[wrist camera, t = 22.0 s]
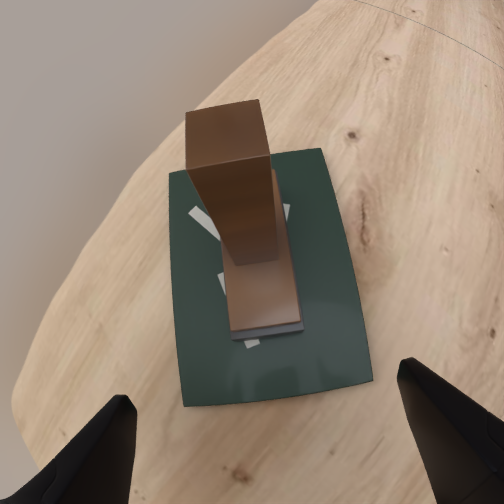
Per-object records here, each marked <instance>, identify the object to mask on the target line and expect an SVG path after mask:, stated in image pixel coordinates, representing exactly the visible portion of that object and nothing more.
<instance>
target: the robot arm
mask: <svg viewBox="0 0 504 504" xmlns="http://www.w3.org/2000/svg"><path fill="white" fill-rule="evenodd" d="M397 383H398V386H399V390H400V394H401V397H402V401H403V405H404V409H405V412H406V416H407V420H408V423H409V426H410V428H411V431H412V433H413V436H414V439H415V441H416V444H417V447H418V449H419V452H420V455H421V458H422V460H423V463H424V466H425V469H426V472H427V475H428V478H429V480H430V483H431V486H432V489H433V493H434V496H435V499H436V502H437V504H504V422H503V421H502V420H500V419H499V418H498V417H496V416H495V415H493V414H492V413H491V412H488V411H487V410H486V409H485V408H483V407H482V406H481V405H479V404H478V403H476V402H475V401H474V400H472V399H471V398H470V397H468V396H467V395H465V394H464V393H463V392H461V391H460V390H458V389H457V388H456V387H454V386H453V385H451V384H450V383H449V382H447V381H446V380H444V379H443V378H442V377H440V376H439V375H437V374H436V373H435V372H433V371H432V370H430V369H429V368H428V367H426V366H425V365H423V364H422V363H421V362H419V361H418V360H416V359H415V358H413V357H410V358H407V359H403V360H401V362H400V365H399V370H398V374H397ZM136 430H137V410H136V408H135V406H134V405H133V403H132V402H131V400H130V399H129V397H128V396H127V395H115V396H113V397H112V398H111V399H110V401H109V402H108V403H107V404H106V405H105V406H104V407H103V408H102V409H101V410H100V411H99V412H98V413H97V414H96V415H95V416H94V417H93V418H92V419H91V420H90V421H89V422H88V423H87V424H86V425H85V426H84V427H83V428H82V429H81V431H80V432H79V433H78V434H77V435H76V436H75V437H74V438H73V439H72V440H71V441H70V442H69V443H68V444H67V445H66V446H65V447H64V448H63V449H62V450H61V451H60V452H59V453H58V454H57V455H56V456H55V458H53V459H52V460H51V461H50V462H49V463H48V465H46V466H45V467H44V468H43V469H42V470H41V471H40V472H39V473H38V474H37V475H36V476H35V477H34V478H32V479H31V480H30V481H29V482H28V483H27V484H25V485H24V486H23V487H22V488H20V489H19V490H18V491H17V492H16V493H15V494H13V495H12V496H10V497H8V498H6V499H2V500H0V504H128V501H129V493H130V486H131V478H132V471H133V464H134V458H135V449H136Z"/></svg>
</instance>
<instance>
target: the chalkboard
mask: <svg viewBox="0 0 504 504" xmlns="http://www.w3.org/2000/svg"><path fill="white" fill-rule="evenodd" d="M270 155H271V167H272V169H274V170H275V171H277V175H278V180H279V185H280V190H281V195H282V200H283V205H284V211H285V216H286V221H287V227H288V232H289V238H290V243H291V249H292V254H293V260H294V266H295V272H296V278H297V284H298V290H299V296H300V302H301V308H302V314H303V321H304V327H305V330H304V331H303V333H298V334H292V335H285V336H279V337H272V338H264V339H257V340H249V341H241V342H236V341H232V340H231V337H230V328H229V320H228V311H227V302H226V292H225V283H224V273H223V263H222V253H221V243H220V235H219V233H218V231H217V229H216V228H215V226H214V224H213V222H212V220H211V218H210V216H209V214H208V212H207V210H206V208H205V206H204V204H203V203H202V201H201V199H200V197H199V195H198V193H197V191H196V189H195V187H194V185H193V183H192V181H191V179H190V177H189V175H188V173H187V171H186V170H181V171H176V172H172V173H169V232H170V260H171V280H172V297H173V311H174V323H175V335H176V346H177V356H178V365H179V374H180V382H181V390H182V398H183V405H184V407H192V406H211V405H226V404H238V403H248V402H257V401H266V400H274V399H281V398H288V397H295V396H301V395H307V394H313V393H318V392H324V391H329V390H334V389H339V388H344V387H349V386H353V385H358V384H362V383H366V382H370V381H373V374H372V367H371V360H370V354H369V348H368V341H367V335H366V330H365V324H364V318H363V313H362V308H361V303H360V298H359V293H358V288H357V283H356V278H355V274H354V269H353V265H352V260H351V256H350V252H349V247H348V243H347V239H346V235H345V231H344V227H343V223H342V219H341V215H340V212H339V208H338V204H337V200H336V197H335V193H334V190H333V186H332V183H331V179H330V176H329V172H328V169H327V166H326V163H325V159H324V156H323V153H322V150H321V148H314V149H306V150H298V151H290V152H283V153H276V154H270Z"/></svg>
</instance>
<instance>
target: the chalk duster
mask: <svg viewBox="0 0 504 504" xmlns="http://www.w3.org/2000/svg"><path fill="white" fill-rule="evenodd" d="M185 148H186V171H187V173H188V175H189V177H190V179H191V181H192V183H193V185H194V187H195V189H196V191H197V193H198V195H199V197H200V199H201V201H202V203H203V204H204V206H205V208H206V210H207V212H208V214H209V216H210V218H211V220H212V222H213V224H214V226H215V228H216V229H217V231H218V233H219V235H220V243H221V253H222V263H223V273H224V283H225V292H226V302H227V311H228V320H229V328H230V337H231V340H232V341H236V342H241V341H249V340H257V339H264V338H272V337H279V336H285V335H292V334H298V333H303V331H304V330H305V327H304V321H303V314H302V308H301V302H300V296H299V290H298V284H297V278H296V272H295V266H294V260H293V254H292V249H291V243H290V238H289V232H288V227H287V221H286V216H285V211H284V205H283V200H282V195H281V190H280V185H279V180H278V175H277V171H275V170H274V169H272V167H271V155H270V150H269V145H268V141H267V136H266V131H265V126H264V121H263V117H262V112H261V107H260V103H259V100H258V99H255V100H249V101H242V102H236V103H231V104H225V105H220V106H214V107H209V108H204V109H200V110H195V111H191V112H186V118H185Z"/></svg>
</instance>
